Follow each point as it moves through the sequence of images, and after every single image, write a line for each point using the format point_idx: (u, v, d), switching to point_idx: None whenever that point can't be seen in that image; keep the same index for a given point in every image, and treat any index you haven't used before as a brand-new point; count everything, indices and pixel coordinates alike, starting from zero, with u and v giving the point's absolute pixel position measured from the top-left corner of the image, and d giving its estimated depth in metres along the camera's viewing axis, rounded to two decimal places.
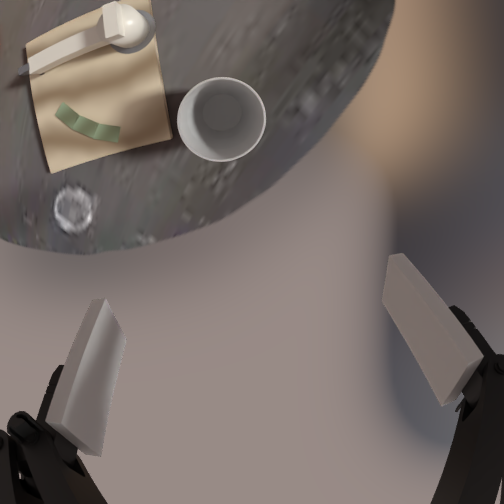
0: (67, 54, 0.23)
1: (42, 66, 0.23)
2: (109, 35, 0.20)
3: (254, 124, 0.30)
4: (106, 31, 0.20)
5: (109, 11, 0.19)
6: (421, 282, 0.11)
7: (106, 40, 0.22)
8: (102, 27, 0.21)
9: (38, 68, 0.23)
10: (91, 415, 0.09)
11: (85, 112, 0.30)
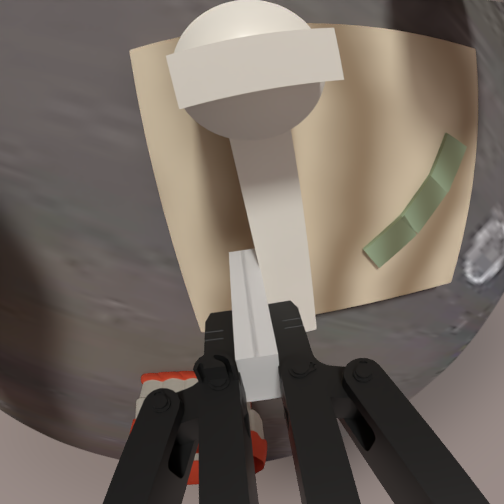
0: (304, 235, 0.12)
1: (311, 301, 0.14)
2: (333, 63, 0.06)
3: None
4: (312, 75, 0.06)
5: (215, 69, 0.06)
6: (254, 275, 0.13)
7: (313, 100, 0.08)
8: (259, 116, 0.08)
9: (312, 310, 0.15)
10: None
11: (400, 201, 0.17)
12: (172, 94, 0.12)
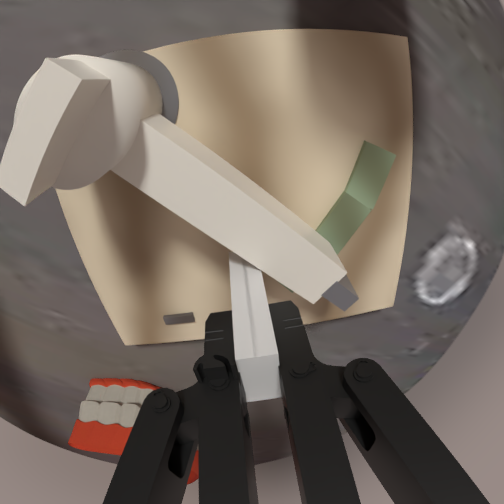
0: (247, 198, 0.11)
1: (315, 250, 0.12)
2: (66, 79, 0.05)
3: None
4: (61, 103, 0.06)
5: (17, 164, 0.06)
6: (254, 275, 0.13)
7: (120, 98, 0.07)
8: (97, 148, 0.08)
9: (324, 258, 0.13)
10: None
11: (308, 222, 0.16)
12: None
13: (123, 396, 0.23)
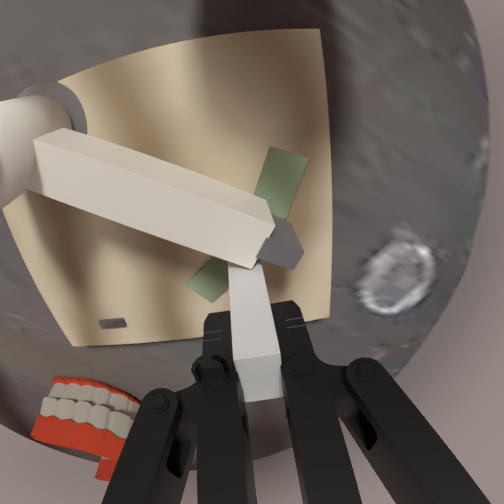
0: (135, 175, 0.10)
1: (225, 208, 0.11)
2: None
3: None
4: None
5: None
6: (256, 275, 0.13)
7: (2, 129, 0.07)
8: (0, 174, 0.08)
9: (240, 215, 0.12)
10: None
11: None
12: None
13: (80, 394, 0.23)
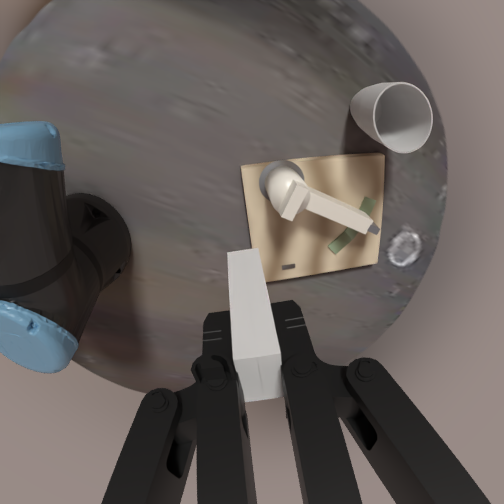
0: (339, 205, 0.37)
1: (361, 216, 0.38)
2: (304, 189, 0.31)
3: (395, 88, 0.29)
4: (303, 195, 0.32)
5: (290, 211, 0.32)
6: (256, 275, 0.13)
7: (307, 188, 0.33)
8: (302, 202, 0.34)
9: (365, 217, 0.38)
10: None
11: (343, 226, 0.43)
12: (257, 187, 0.39)
13: None
